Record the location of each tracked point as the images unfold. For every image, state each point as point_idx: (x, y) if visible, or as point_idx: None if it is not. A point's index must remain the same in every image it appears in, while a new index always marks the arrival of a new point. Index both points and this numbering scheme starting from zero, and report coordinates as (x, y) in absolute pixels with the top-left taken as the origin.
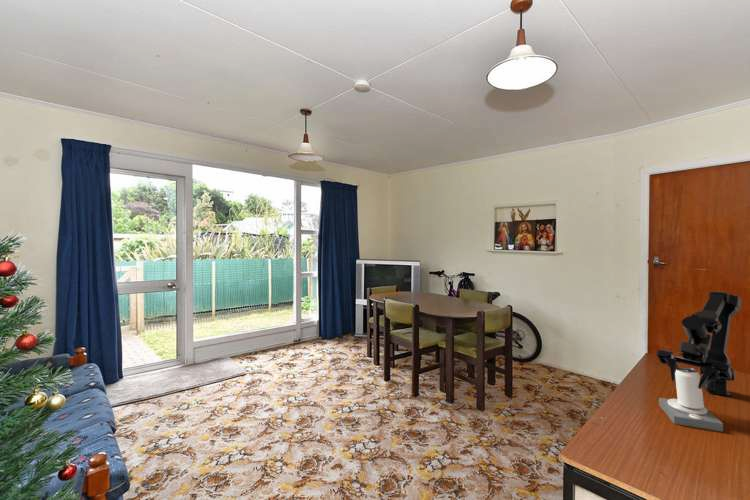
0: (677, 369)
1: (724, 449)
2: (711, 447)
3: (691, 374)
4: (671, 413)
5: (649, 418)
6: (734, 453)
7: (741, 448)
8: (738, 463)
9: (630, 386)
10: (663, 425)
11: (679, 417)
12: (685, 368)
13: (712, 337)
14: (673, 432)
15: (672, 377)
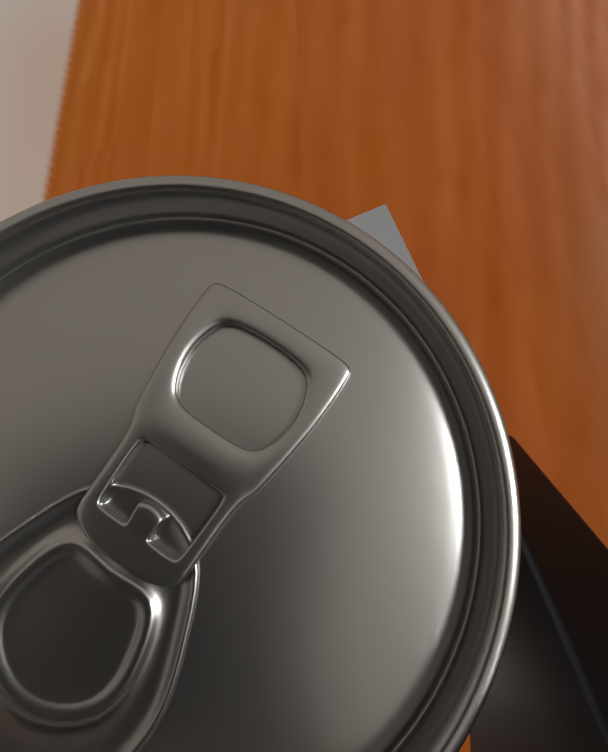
0: (460, 497)
1: (133, 100)
2: (189, 72)
3: (74, 235)
4: (411, 259)
5: (540, 202)
6: (95, 92)
7: (54, 180)
8: (94, 2)
9: None
10: (439, 157)
11: (351, 221)
12: None
13: None
14: (373, 102)
15: (515, 460)
